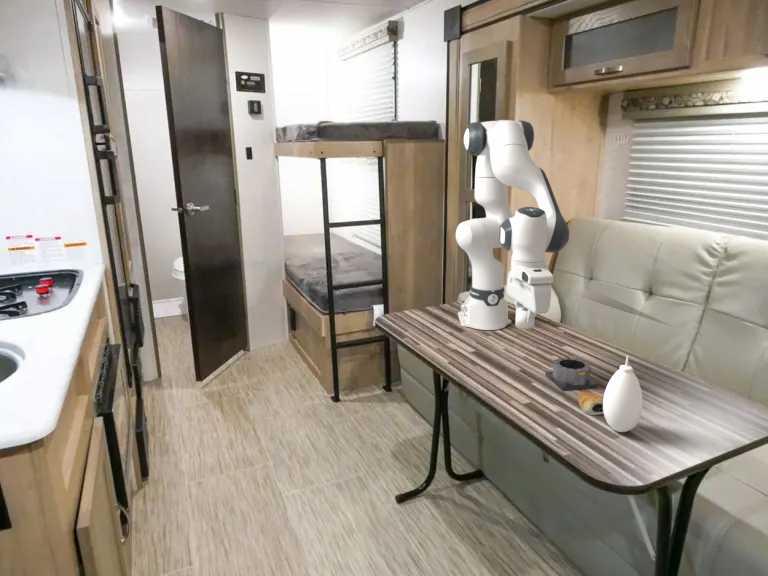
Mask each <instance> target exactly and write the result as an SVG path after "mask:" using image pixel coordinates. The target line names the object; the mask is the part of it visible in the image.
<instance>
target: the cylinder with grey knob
mask: <svg viewBox="0 0 768 576" xmlns="http://www.w3.org/2000/svg"><path fill="white" fill-rule="evenodd" d="M528 313H529V312H528V308H526V307H525V306H523V307H520V308H517V309H516V308H515V322H514V325H515V327H516V328H518V329H523V330H529V329H534V328H535V322H536V321H535V320H534V324H528V323H527V322H526V316H528Z"/></svg>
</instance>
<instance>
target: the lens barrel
mask: <svg viewBox="0 0 768 576" xmlns="http://www.w3.org/2000/svg"><path fill="white" fill-rule="evenodd" d="M591 371H592V365H591V363H589V362H588V361H587V360H585V359H581V358H578V357H569V356H568V357H567V356H566V357H559V358H556V359H554V360H553V364H552V370H551V371H545V377H546V378H548V379H549V380H550V381H551V382H552V383H553V384H554V385H555V386H557V387H558V388H559V389H560V390H561V391H572V390H573V391H575V390H583V389H585V390H586V389H596V388H598V387H599V383H597V382H596V381H595V380H594V379H593V378H591Z"/></svg>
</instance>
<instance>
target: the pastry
mask: <svg viewBox="0 0 768 576" xmlns="http://www.w3.org/2000/svg"><path fill="white" fill-rule="evenodd" d="M603 398H604V395H603V396H602V395H599V394H598V393H595V392H592V391H586V390H585V391H580V392H579V393H578V395H577V401H578V406H579V407H580V409H581V411H582V412H583V414H585V415H587V416H600V415H604V412H603Z"/></svg>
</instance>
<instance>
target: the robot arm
mask: <svg viewBox="0 0 768 576" xmlns="http://www.w3.org/2000/svg"><path fill="white" fill-rule="evenodd" d="M534 142H535V132H534V127H533V125H532V124H531V122H529V121H526V120H511V119H499V120H490V121H489V120H488V121H475V122H471V123H469V124H468V125H467V127H466V128H465V132H464V135H463V145H464V148H465V151H466V152H467V153H468V155H470V156H475V157H477V158H476V163H475V172H474V173H475V174H474V200H475V202H476V203H477V204H478V205H480V206H481V207H483V209H484V211H485V217H480V218H479V217H478V218H471V219H468V220H464V221H462V222H460V223H459V224H458V225H457V227H456V230H455V242H456V243H457V245H458V246H459V247H460V248H461V250H463V251H464V252H465V253H466V254H467V256H468V258H469V261H470V265H471V274H472V275H471V286H470V289H469V296H468V297H466V299H465V300H464V302H463V303H461V304H460V311H458V313H457V317H458V319H459V322H460V326H461V327H468V328H471V329H476V330H482V331H484V330H485V331H494V330H495V331H496V330H501V329H504V328H506V327H507V326H508V325H510V324H512V320H511V319H510V318H509V312H508V311H509V310H508V309H509V308H508V301H507V300H506V299H505V293H506V294H507V296H509V297H511V298H512V299H513V300H514V304H515V310H516V309H517V308H520V307H526V308H528V312H529V313H528V316H526V322H527V323H528V324H534V325H535V322H534V320H535V318H536V316H537V315H538V314H539V315H541V314H546V313H547V314H548V312H549V310H550V307H551V299H552V286H551V284H553V282H554V275H553V274H552V272H551V271H550V269H549V268H548V266H547V264H546V262H547V258H546V257H547V256H546V253H552V254H553V253H554V254H556V253H558V252H560V251H561V250H563V249H564V248H565V246H567V244H568V243H569V239H570V230H569V226H568V224H567V221H566V219H565V218H564V217H563V214H562V212H561V211H560V207H559V205H558V202H557V199H556V197H555V194H554V192H553V190H552V186H551V184H550V181H549V179H548V177H547V175H546V172H545V170H544V169H543V168H540V167H539V166H538V165H536V163H535V162H534V160H533V159H532V158H531V155H530V153H529V151H530V150H531V149H532V148H533V145H534ZM509 187H512V188H515V189H519V190H522V191H525V192H527V193H528V194H530V195H531V196H533V198H534V199H535V200H536V203H537V207H535V206H524V207H520V208H518V209H516V211H515V213H514V214H513V212H512V210H511V207H510V204H509V196H508V194H509V190H508V189H509ZM499 248H503V249H505V250H506V251H509V252H512V255H511V258H510V270H509V271H508V274H507V279H506V292H505V286H504V276H505V267H504V265H503V263H502V262H501V261H500V260H498V259H496V258H495V257H494V250H493V249H499Z"/></svg>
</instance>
